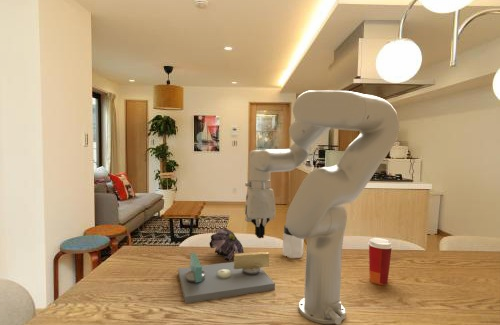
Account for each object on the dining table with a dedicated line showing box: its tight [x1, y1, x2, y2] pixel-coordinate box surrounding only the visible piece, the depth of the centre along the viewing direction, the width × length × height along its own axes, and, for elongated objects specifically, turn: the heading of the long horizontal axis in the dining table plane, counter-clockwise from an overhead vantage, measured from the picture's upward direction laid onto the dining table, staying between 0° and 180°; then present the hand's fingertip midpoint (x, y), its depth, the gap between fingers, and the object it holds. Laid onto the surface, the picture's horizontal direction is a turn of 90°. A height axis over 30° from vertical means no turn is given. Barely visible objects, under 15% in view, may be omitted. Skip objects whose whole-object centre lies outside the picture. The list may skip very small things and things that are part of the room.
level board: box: [177, 261, 276, 304], centre depth 98 cm, size 20×28×4 cm
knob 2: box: [233, 251, 270, 275], centre depth 100 cm, size 12×6×6 cm, turn 102°
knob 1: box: [186, 252, 205, 283], centre depth 94 cm, size 12×6×6 cm, turn 19°
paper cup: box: [367, 237, 394, 286], centre depth 100 cm, size 8×8×14 cm
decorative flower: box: [209, 228, 245, 262], centre depth 119 cm, size 14×12×15 cm
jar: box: [282, 224, 305, 259], centre depth 122 cm, size 9×8×12 cm
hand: (259, 237), depth 103 cm, fingers closed
